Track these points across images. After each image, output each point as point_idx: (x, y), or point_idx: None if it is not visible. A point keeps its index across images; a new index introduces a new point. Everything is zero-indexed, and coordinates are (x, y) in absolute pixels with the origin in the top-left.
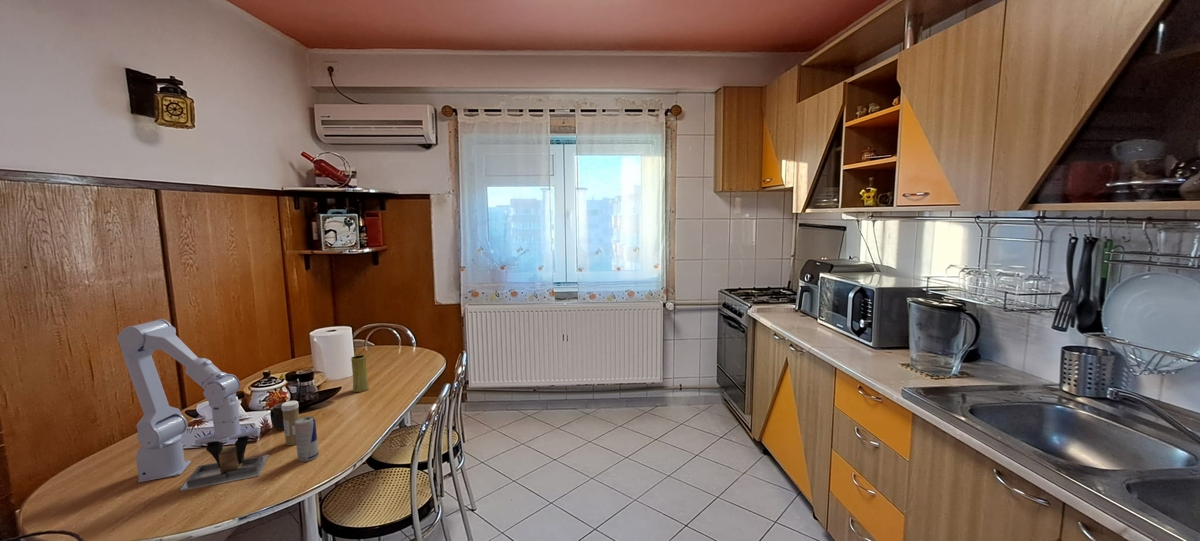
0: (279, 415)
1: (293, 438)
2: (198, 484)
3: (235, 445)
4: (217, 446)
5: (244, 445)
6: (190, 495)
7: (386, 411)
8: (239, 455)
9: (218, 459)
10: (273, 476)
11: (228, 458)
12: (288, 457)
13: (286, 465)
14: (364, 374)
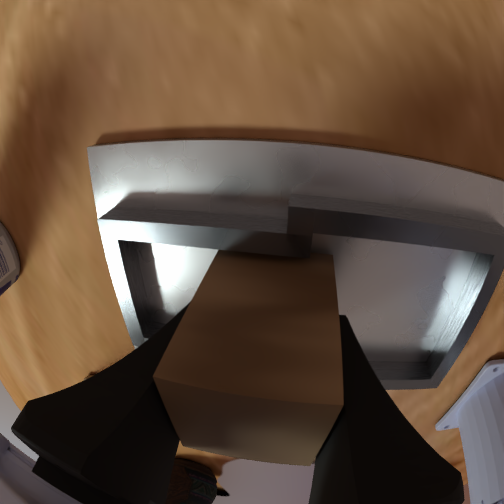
0: (179, 500)
1: None
2: (455, 195)
3: (99, 442)
4: None
5: (50, 395)
6: (472, 80)
7: (8, 380)
8: (164, 343)
9: (349, 366)
10: (36, 114)
11: (251, 340)
12: (58, 291)
13: (29, 215)
14: None
